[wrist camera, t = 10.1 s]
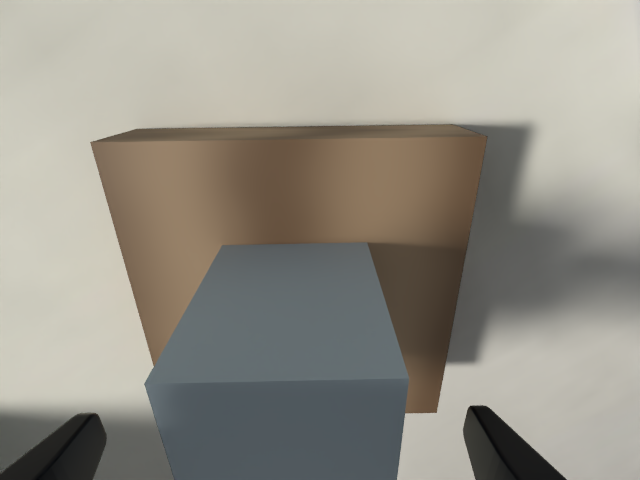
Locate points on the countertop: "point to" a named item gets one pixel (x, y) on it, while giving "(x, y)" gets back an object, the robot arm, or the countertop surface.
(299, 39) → the countertop surface
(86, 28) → the countertop surface
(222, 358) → the grey block
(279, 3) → the countertop surface
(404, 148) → the walnut base
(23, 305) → the countertop surface
